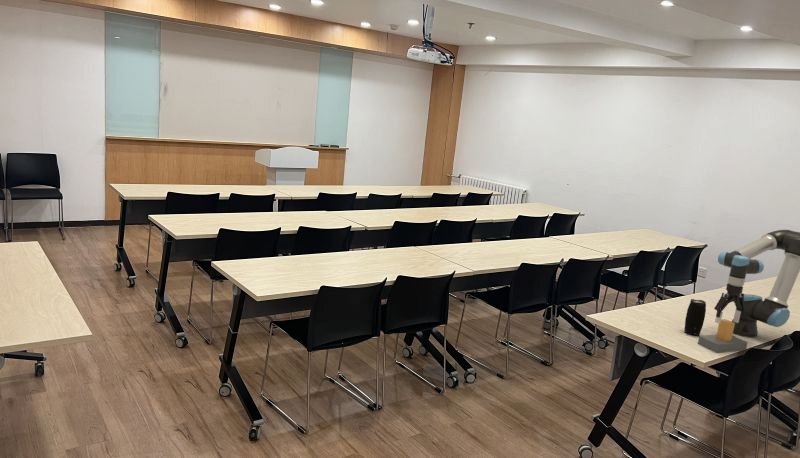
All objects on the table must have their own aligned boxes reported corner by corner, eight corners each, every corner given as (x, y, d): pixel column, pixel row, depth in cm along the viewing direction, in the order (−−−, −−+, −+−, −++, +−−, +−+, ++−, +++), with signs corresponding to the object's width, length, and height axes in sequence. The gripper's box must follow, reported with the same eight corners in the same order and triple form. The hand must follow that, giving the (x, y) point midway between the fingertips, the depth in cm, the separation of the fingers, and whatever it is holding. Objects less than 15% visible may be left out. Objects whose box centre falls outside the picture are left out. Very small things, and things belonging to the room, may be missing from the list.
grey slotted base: (697, 343, 321) (699, 335, 320) (726, 341, 329) (728, 333, 329) (716, 352, 310) (718, 344, 309) (745, 350, 319) (747, 342, 318)
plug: (714, 343, 322) (719, 319, 319) (719, 343, 323) (725, 319, 320) (724, 348, 316) (729, 323, 313) (729, 347, 318) (734, 323, 315)
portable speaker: (699, 337, 331) (705, 304, 327) (681, 332, 336) (687, 300, 332) (702, 334, 337) (709, 301, 333) (684, 329, 343) (691, 297, 339)
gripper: (724, 287, 305) (715, 325, 309) (758, 286, 314) (749, 324, 318) (712, 282, 311) (704, 320, 315) (745, 282, 321) (736, 319, 325)
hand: (726, 322), depth 317 cm, fingers open, 13 cm apart
